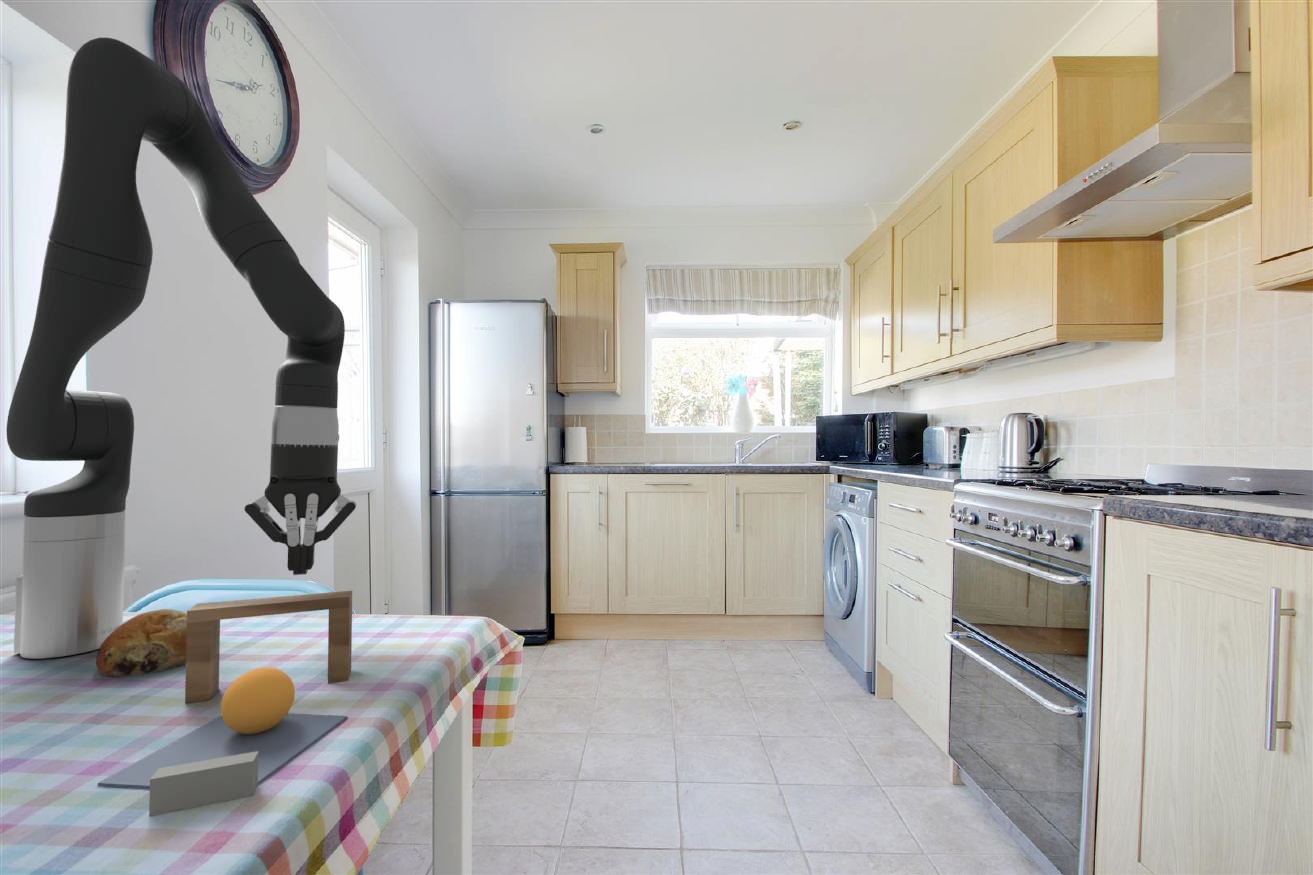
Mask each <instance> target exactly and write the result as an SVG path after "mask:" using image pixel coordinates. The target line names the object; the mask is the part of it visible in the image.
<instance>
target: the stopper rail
mask: <svg viewBox="0 0 1313 875" xmlns="http://www.w3.org/2000/svg"><path fill="white" fill-rule="evenodd" d="M258 752H259V751H256V752H250V753H245V754H239V755H233V756H227V757H221V758H216V759H210V760H204V761H198V762H192V763H187V764H181V765H175V766H169V767H164V768H159V769H158V770H157V771H156V772H155V774H154V775H153V776H152V777H151V779H150V789H149V800H148V801H149V804H148V805H149V808H148V816H149V817H151V816H156V815H160V814H166V813H170V812H171V813H172V812H176V811H181V810H186V809H190V808H196V807H201V806H207V805H211V804H216V803H221V802H227V801H232V800H236V799H241V798H246V797H252V796H254V794H255V791H256V790H257V787H258V785H259V784H258Z"/></svg>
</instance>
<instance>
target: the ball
mask: <svg viewBox="0 0 1313 875" xmlns="http://www.w3.org/2000/svg"><path fill="white" fill-rule="evenodd" d="M295 691H296V689H295V685H294V682H293V680H292V678H291V677H290V676H289V675H288V674H287V673H286V672H284V671H283V670H281V669H278V668H275V667H267V666H265V667H257V668H253V669H251V670H248V671H246V672H244V673H243V674H241V675H239V676H238V677H237V678H235V680H234V681H233V682H231V684H230V685H229V686H228V687H227V689H226V691H225V693H224V694H223V697H222V699H221V703H220V714H221V715H222V718H223V720H224V722H225V724H226V725H227V726H228V727H229V728H230V729H232V730H233V731H236V732H238V733H242V734H257V733H261V732H264V731H266V730H269V729H270V728H272V727H274V726H275V725H277V724H278V723H279V722H280V721H282V720H283V719H284V717H285V716H286V715H287V714H288V713H289V712H290V711H291V709H292V707H293V704H294V701H295V695H296V692H295ZM221 715H220V716H221Z"/></svg>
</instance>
